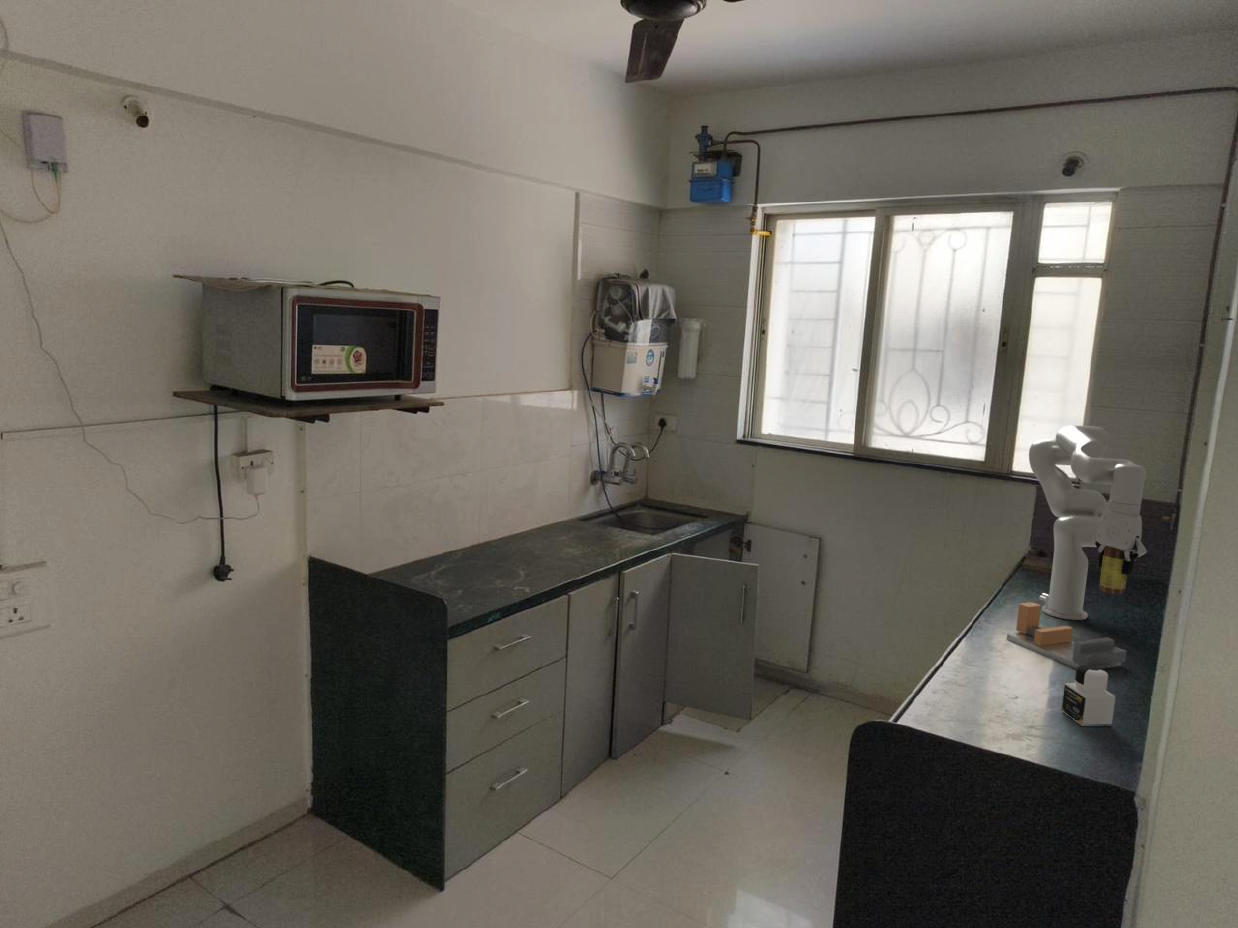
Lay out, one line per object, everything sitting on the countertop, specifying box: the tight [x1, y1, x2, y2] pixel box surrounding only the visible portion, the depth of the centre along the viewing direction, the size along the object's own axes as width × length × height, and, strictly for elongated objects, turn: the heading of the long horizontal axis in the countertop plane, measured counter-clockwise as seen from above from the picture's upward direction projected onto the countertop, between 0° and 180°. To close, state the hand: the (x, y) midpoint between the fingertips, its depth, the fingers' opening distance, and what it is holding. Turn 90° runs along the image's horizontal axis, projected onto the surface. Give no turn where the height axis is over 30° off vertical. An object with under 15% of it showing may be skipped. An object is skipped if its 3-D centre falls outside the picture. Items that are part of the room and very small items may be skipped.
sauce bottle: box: [1099, 546, 1128, 596], centre depth 222 cm, size 6×6×20 cm
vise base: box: [1006, 631, 1128, 670], centre depth 215 cm, size 25×14×6 cm, turn 21°
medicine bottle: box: [1061, 665, 1116, 725], centre depth 175 cm, size 7×7×12 cm
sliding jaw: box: [1015, 601, 1074, 646], centre depth 222 cm, size 11×12×8 cm
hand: (1114, 569), depth 223 cm, fingers closed on sauce bottle, 6 cm apart
